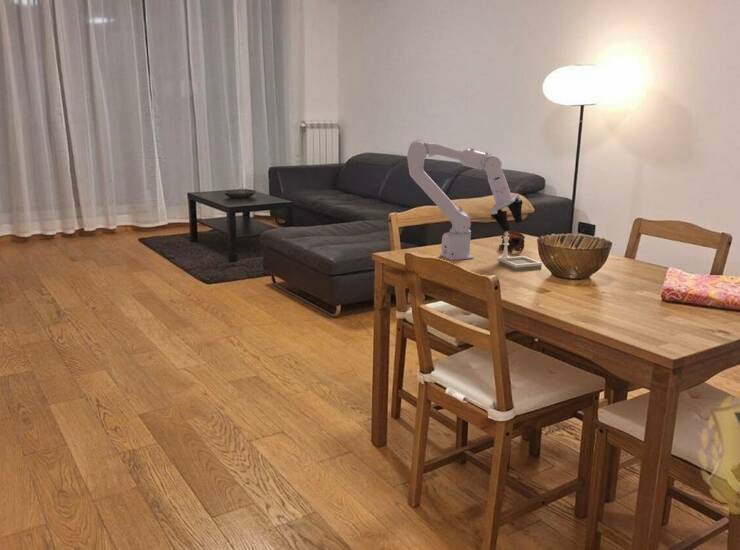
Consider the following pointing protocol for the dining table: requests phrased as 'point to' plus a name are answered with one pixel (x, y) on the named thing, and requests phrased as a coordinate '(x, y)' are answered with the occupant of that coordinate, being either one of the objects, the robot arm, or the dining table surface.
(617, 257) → the dining table surface
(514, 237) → the pottery mug
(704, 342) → the dining table surface
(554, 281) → the dining table surface
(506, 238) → the chess piece
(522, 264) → the picture frame
